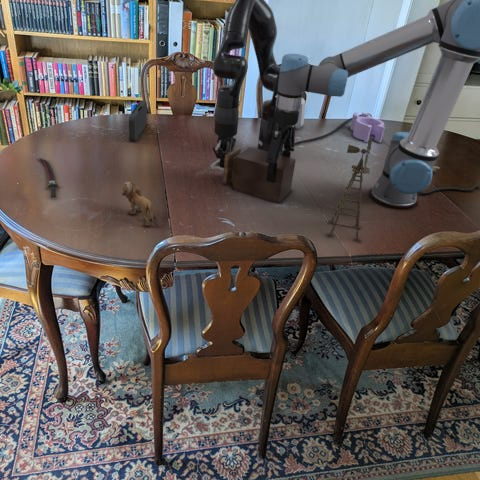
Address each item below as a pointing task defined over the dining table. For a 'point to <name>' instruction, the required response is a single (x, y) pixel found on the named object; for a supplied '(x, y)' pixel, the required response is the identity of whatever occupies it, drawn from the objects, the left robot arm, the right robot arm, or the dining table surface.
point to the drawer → (228, 165)
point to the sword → (52, 181)
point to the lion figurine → (137, 201)
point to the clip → (367, 127)
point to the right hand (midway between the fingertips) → (277, 175)
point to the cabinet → (262, 175)
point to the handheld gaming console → (137, 120)
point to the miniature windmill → (356, 171)
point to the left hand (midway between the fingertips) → (223, 168)
